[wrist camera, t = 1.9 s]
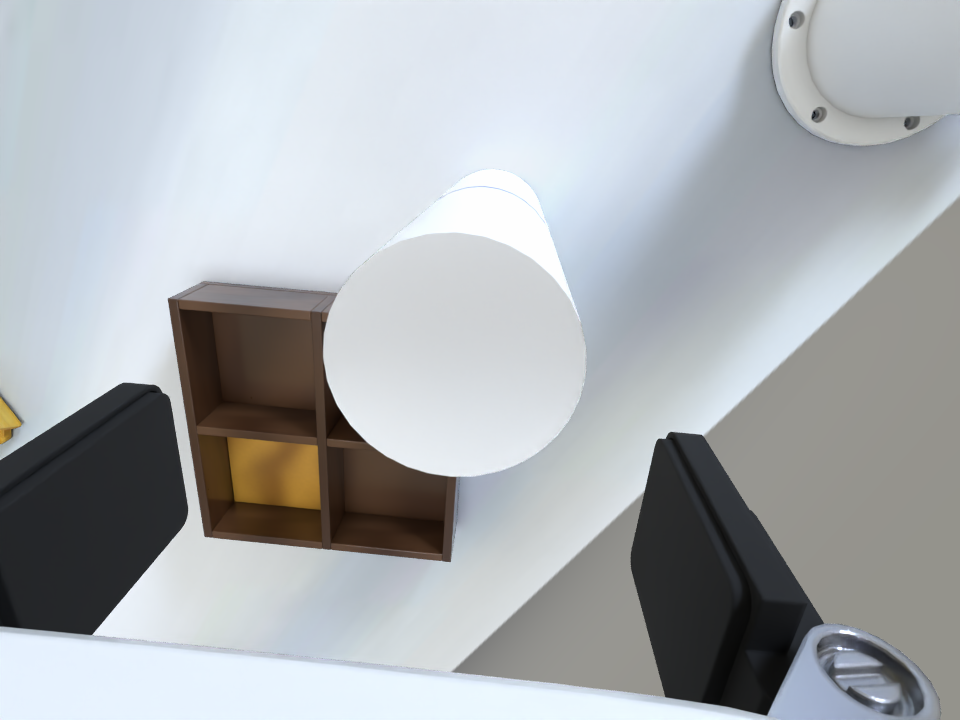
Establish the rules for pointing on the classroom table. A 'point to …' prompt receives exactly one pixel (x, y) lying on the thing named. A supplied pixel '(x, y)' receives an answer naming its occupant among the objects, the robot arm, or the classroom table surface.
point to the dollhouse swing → (7, 422)
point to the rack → (291, 434)
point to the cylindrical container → (460, 335)
